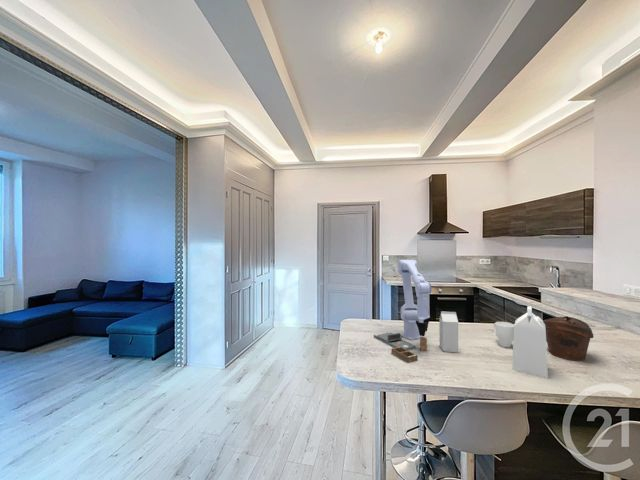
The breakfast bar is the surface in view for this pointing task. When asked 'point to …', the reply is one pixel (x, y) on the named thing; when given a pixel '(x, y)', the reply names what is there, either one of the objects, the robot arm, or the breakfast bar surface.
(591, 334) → the case
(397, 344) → the pattern board
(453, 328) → the milk carton
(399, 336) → the cover
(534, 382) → the breakfast bar surface
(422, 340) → the peg
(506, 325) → the mug
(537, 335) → the milk
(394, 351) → the socket board
